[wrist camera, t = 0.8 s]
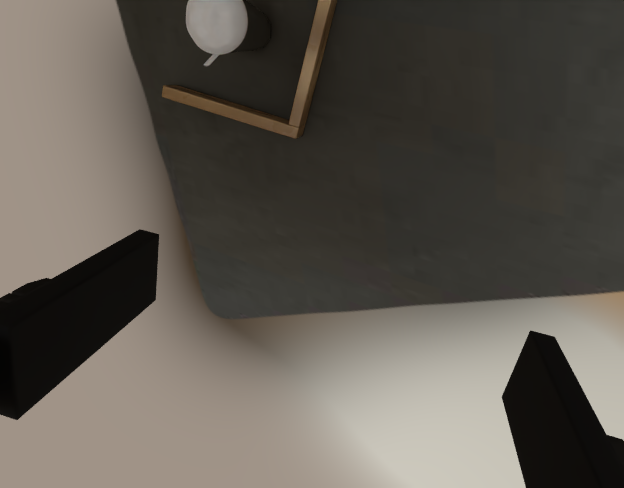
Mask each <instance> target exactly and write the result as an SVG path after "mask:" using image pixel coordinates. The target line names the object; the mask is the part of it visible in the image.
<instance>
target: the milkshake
mask: <svg viewBox="0 0 624 488" xmlns="http://www.w3.org/2000/svg"><path fill="white" fill-rule="evenodd" d="M186 26H187V30H188V32H189V34H190V36H191V37H192V39H193V40H194V42H195V43H196V45H197V46H198V47H199V48H201V49H202V50H204V51H206V52H208V53H211V54H213V55H212V56H211V57H210V58H209V59H208V60H207V61H206V62H205V63H204V64H203V66H209V65H210V64H211V63H212V62H213V61H214V60H215V59H216V58H217V57H218V56H219V55H222V54H228V53H234V52H245V51H254V50H257V49H261V48H264V46H265V45H266V43H267V42H268V41H269V39H270V38H271V24H270V22H269V20H268V19H267V17H266V15H265V14H264V13H263V12H262V11H260V10H259V9H258V8H256V7H255V6H253V5H252V4H251V3H249V2H248V1H246V0H189V1H188V4H187V8H186Z"/></svg>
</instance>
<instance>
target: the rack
mask: <svg viewBox="0 0 624 488" xmlns="http://www.w3.org/2000/svg"><path fill="white" fill-rule="evenodd" d="M336 4H337V0H318V4H317V8H316V12H315V16H314V21H313V25H312V29H311V33H310V37H309V41H308V45H307V49H306V54H305V58H304V62H303V66H302V70H301V74H300V78H299V82H298V87H297V91H296V95H295V99H294V103H293V107H292V111H291V115H290V120H287V119H284V118H281V117H278V116H275V115H271V114H268V113H265V112H262V111H258V110H255V109H252V108H249V107H246V106H242V105H239V104H236V103H233V102H230V101H226V100H223V99H220V98H217V97H214V96H210V95H207V94H204V93H201V92H197V91H194V90H191V89H188V88H185V87H181V86H178V85H167V86H163V92H162V97H164V98H167V99H171V100H174V101H177V102H180V103H183V104H186V105H190V106H193V107H196V108H199V109H202V110H205V111H209V112H212V113H215V114H218V115H221V116H224V117H228V118H231V119H234V120H237V121H240V122H244V123H247V124H250V125H253V126H256V127H259V128H263V129H266V130H269V131H272V132H275V133H278V134H282V135H285V136H288V137H291V138H294V139H297V138H299V137H301V136H302V135H303V132H304V128H305V124H306V120H307V116H308V113H309V109H310V105H311V101H312V97H313V93H314V89H315V85H316V81H317V78H318V74H319V70H320V66H321V62H322V58H323V54H324V50H325V46H326V43H327V39H328V35H329V31H330V27H331V23H332V19H333V15H334V11H335V8H336Z"/></svg>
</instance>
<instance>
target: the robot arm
mask: <svg viewBox="0 0 624 488" xmlns="http://www.w3.org/2000/svg"><path fill="white" fill-rule="evenodd" d="M158 245H159V234H155V233H151V232H148V231H144V230H138V231H136V232H134V233H132V234H131V235H129V236H127V237H125V238H124V239H122V240H120V241H118V242H116V243H115V244H113V245H111V246H109V247H107V248H106V249H104V250H102V251H100V252H99V253H97V254H95V255H93V256H91V257H90V258H88V259H86V260H85V261H83V262H81V263H79V264H77V265H75V266H74V267H72V268H70V269H68V270H67V271H65V272H63V273H61V274H60V275H58V276H56V277H54V278H52V279H48V278H45V279H41V280H38V281H34V282H31V283H27V284H25V285H24V286H22V287H20V288H18V289H16V290H14V291H13V292H12V293H11V294H10V293H9V294H7V295H5V296H3V297H1V298H0V414H1V415H3V416H6V417H10V418H13V419H16V420H18V419H19V418H20V417H21V416H22V415H23V414H24V413H26V412H27V411H28V410H29V409H30V408H32V407H33V406H34V405H35V404H36V403H37V402H38V401H40V400H41V399H42V398H43V397H44V396H45V395H46V394H48V393H49V392H50V391H51V390H52V389H53V388H55V387H56V386H57V385H58V384H59V383H60V382H61V381H63V380H64V379H65V378H66V377H67V376H68V375H70V374H71V373H72V372H73V371H74V370H75V369H76V368H78V367H79V366H80V365H81V364H82V363H83V362H85V361H86V360H87V359H88V358H89V357H90V356H91V355H93V354H94V353H95V352H96V351H97V350H98V349H100V348H101V347H102V346H103V345H104V344H105V343H107V342H108V341H109V340H110V339H111V338H112V337H113V336H115V335H116V334H117V333H118V332H119V331H120V330H121V329H123V328H124V327H125V326H126V325H127V324H128V323H130V322H131V321H132V320H133V319H134V318H135V317H136V316H138V315H139V314H140V313H141V312H142V311H143V310H144V309H146V308H147V307H148V306H149V305H150V304H152V302H154V301H155V300H156V281H157V264H158ZM502 399H503V403H504V407H505V411H506V414H507V417H508V421H509V425H510V429H511V433H512V436H513V441H514V444H515V448H516V452H517V455H518V459H519V463H520V467H521V470H522V474H523V478H524V482H525V485H526V488H624V441H623V440H622V439H619V438H615V437H612V436H609V435H606V433H605V431H604V429H603V428H602V426H601V424H600V422H599V420H598V418H597V416H596V414H595V412H594V410H593V409H592V407H591V405H590V403H589V401H588V399H587V397H586V395H585V393H584V392H583V390H582V388H581V386H580V384H579V382H578V380H577V378H576V376H575V375H574V373H573V371H572V369H571V367H570V365H569V363H568V361H567V359H566V357H565V356H564V354H563V352H562V350H561V348H560V346H559V344H558V342H557V340H556V339H555V337H553V336H549V335H546V334H542V333H538V332H534V331H530V332H529V335H528V337H527V339H526V342H525V344H524V346H523V349H522V351H521V353H520V356H519V358H518V360H517V363H516V365H515V367H514V370H513V372H512V374H511V377H510V379H509V382H508V384H507V386H506V388H505V391H504V393H503V395H502Z"/></svg>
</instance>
